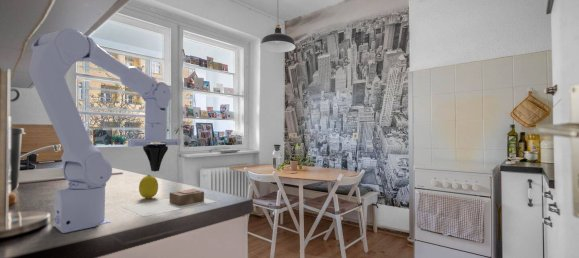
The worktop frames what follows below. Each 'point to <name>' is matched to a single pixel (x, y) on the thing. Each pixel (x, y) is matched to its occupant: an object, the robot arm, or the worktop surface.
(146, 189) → the lemon
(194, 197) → the brown wooden block
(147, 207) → the mat
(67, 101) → the robot arm
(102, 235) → the worktop surface
